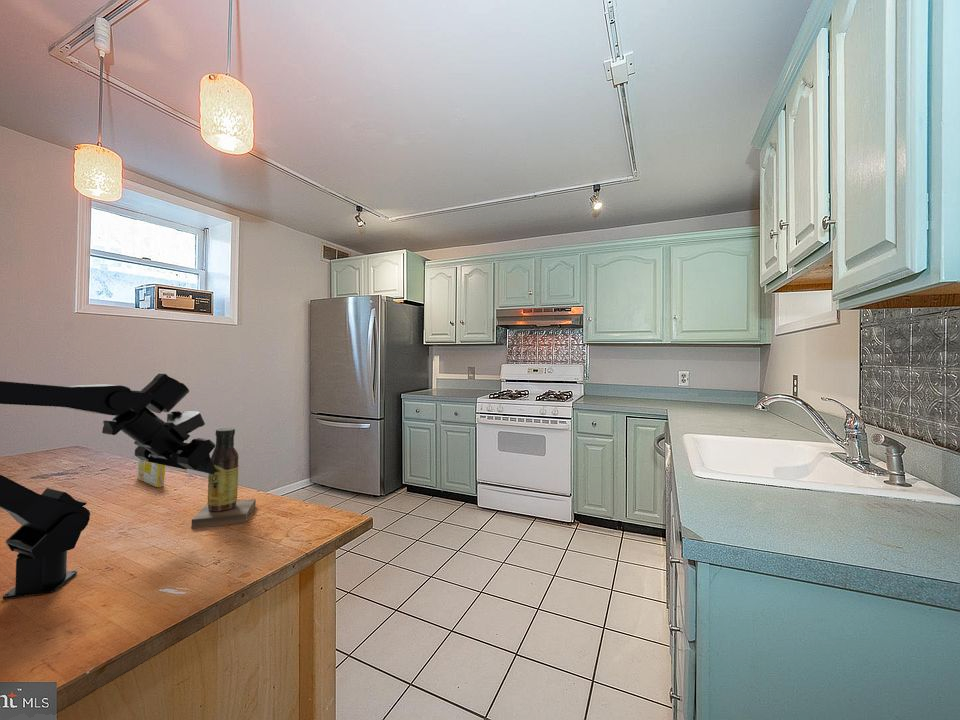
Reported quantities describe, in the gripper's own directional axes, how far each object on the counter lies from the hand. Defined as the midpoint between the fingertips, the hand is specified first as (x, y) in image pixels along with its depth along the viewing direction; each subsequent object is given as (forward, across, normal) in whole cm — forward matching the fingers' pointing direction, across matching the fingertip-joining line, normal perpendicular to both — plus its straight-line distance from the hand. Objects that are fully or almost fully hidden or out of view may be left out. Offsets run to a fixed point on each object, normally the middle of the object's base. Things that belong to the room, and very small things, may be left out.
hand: (201, 470), depth 91 cm
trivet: (+14, 0, +5) cm, 15 cm away
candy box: (+21, +46, -2) cm, 51 cm away
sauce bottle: (+12, +1, +4) cm, 13 cm away
